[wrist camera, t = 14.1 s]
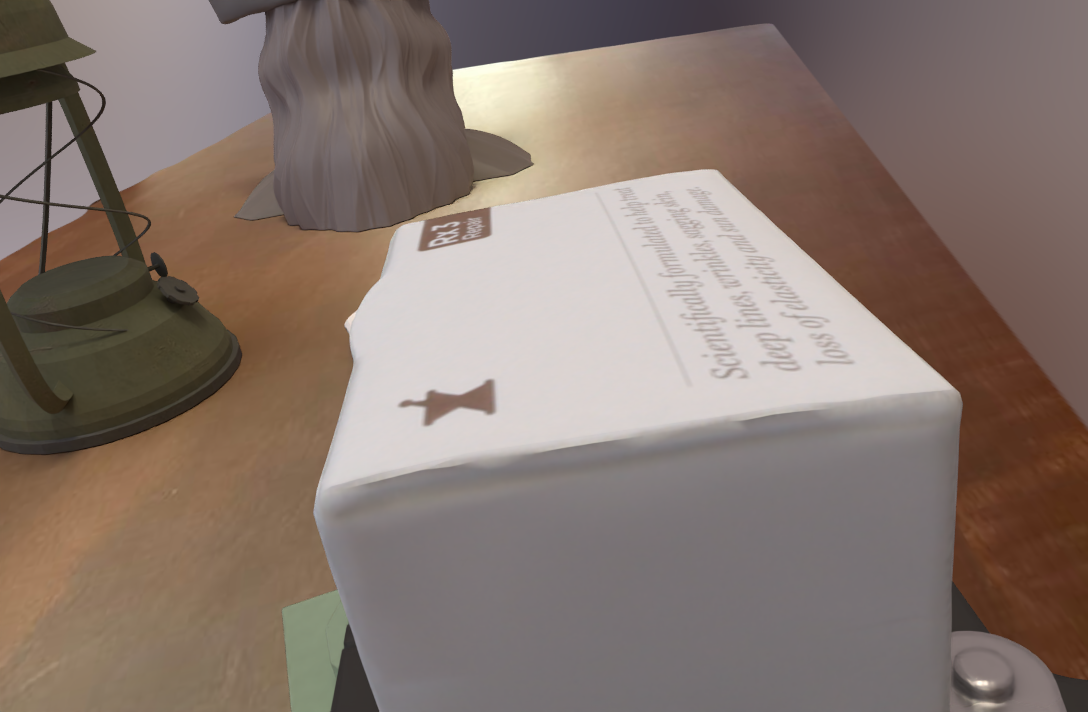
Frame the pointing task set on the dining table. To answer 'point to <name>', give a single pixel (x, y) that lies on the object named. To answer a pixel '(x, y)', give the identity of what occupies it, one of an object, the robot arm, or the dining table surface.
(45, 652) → the dining table surface
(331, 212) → the bust
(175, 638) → the dining table surface
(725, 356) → the cosmetic box
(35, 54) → the lantern
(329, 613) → the green base with knob
